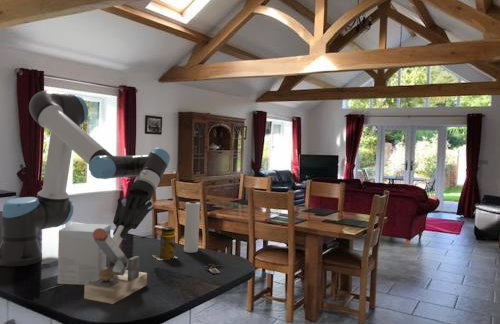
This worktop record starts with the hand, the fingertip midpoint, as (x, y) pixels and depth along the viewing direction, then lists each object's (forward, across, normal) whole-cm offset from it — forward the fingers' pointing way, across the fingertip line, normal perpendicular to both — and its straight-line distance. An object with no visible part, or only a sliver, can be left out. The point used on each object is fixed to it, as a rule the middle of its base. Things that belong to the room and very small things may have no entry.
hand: (113, 245), depth 129 cm
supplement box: (+5, -17, +17) cm, 25 cm away
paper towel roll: (-30, -1, +52) cm, 60 cm away
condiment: (-20, -6, +42) cm, 47 cm away
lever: (+2, 0, +9) cm, 10 cm away
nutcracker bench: (+9, 0, +12) cm, 15 cm away
